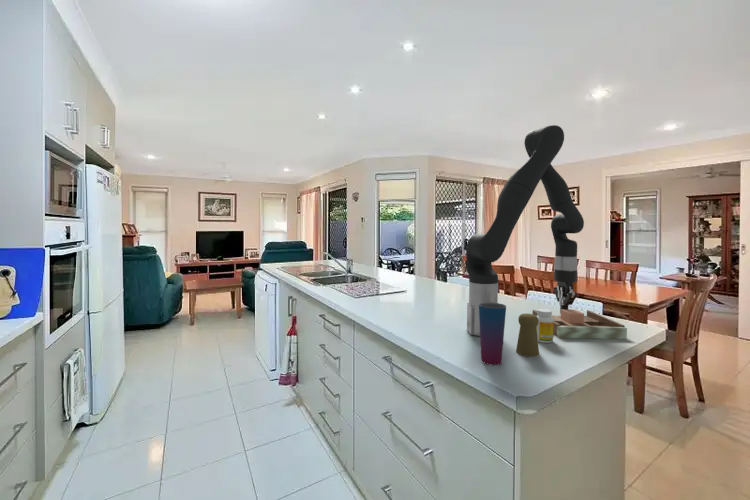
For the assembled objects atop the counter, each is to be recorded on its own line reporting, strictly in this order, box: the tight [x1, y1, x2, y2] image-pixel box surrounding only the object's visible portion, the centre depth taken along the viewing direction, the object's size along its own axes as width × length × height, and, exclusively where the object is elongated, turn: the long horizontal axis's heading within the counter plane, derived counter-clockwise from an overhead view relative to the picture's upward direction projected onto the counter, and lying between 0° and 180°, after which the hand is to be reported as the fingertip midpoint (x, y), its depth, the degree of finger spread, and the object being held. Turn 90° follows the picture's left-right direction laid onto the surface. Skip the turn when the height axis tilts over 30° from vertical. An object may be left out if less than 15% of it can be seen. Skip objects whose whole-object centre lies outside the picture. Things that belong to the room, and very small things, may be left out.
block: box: [560, 308, 585, 324], centre depth 123 cm, size 5×6×4 cm
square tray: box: [532, 309, 628, 340], centre depth 120 cm, size 21×21×4 cm
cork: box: [515, 313, 540, 358], centre depth 97 cm, size 6×6×11 cm
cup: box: [479, 302, 507, 365], centre depth 90 cm, size 7×7×15 cm
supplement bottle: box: [536, 308, 554, 344], centre depth 107 cm, size 5×5×10 cm
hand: (564, 314), depth 128 cm, fingers closed
